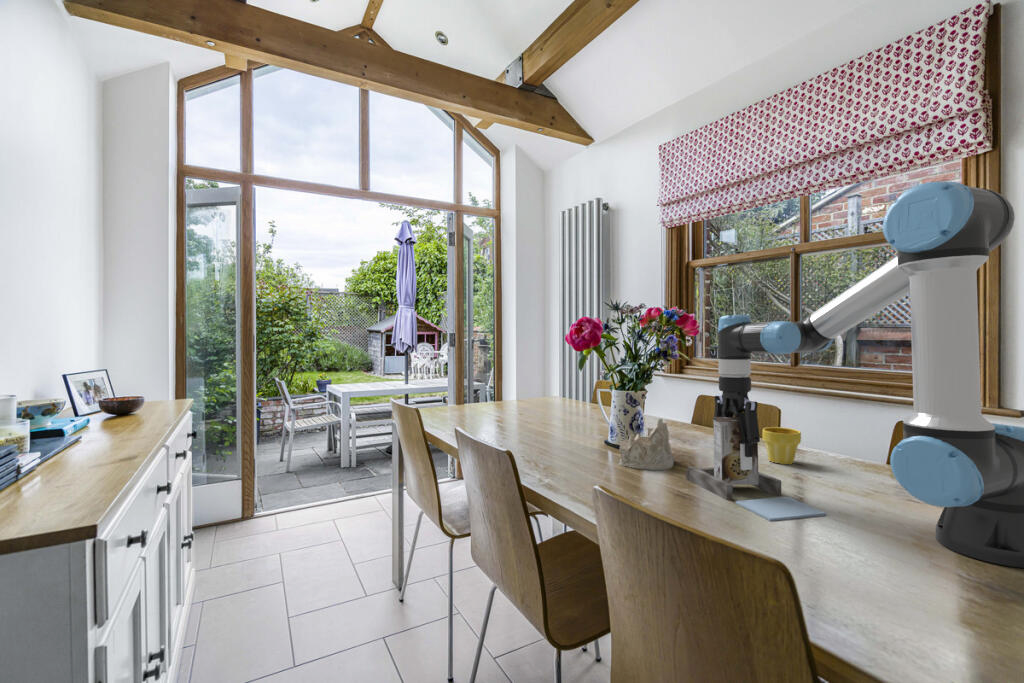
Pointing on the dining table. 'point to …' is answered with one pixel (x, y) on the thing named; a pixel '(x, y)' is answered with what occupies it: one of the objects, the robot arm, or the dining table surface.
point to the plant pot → (781, 444)
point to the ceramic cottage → (648, 449)
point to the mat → (780, 508)
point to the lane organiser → (724, 489)
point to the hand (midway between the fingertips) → (735, 465)
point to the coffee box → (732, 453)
